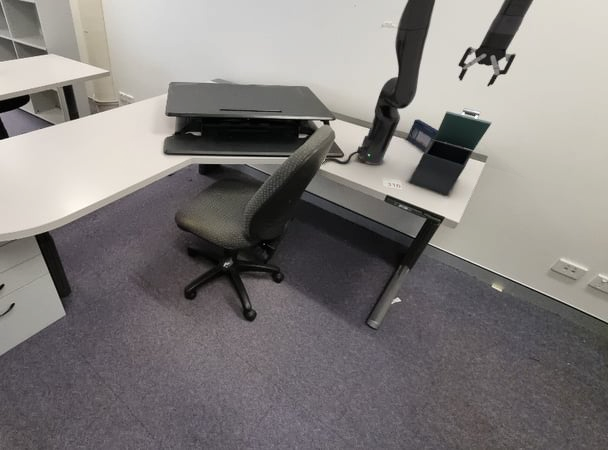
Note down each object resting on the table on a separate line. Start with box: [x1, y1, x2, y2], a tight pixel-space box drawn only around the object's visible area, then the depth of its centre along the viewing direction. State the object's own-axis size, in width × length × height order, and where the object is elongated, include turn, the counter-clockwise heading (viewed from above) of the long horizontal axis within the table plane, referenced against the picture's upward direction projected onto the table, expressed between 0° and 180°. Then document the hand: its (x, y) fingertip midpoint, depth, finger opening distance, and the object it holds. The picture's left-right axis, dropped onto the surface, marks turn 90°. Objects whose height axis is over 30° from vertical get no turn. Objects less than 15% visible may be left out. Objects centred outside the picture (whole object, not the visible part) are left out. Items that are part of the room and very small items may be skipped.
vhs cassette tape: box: [406, 119, 446, 152], centre depth 148 cm, size 18×3×10 cm, turn 11°
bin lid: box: [434, 107, 492, 151], centre depth 119 cm, size 16×14×5 cm
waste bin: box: [408, 140, 474, 197], centre depth 126 cm, size 16×14×13 cm
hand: (474, 82), depth 116 cm, fingers open, 8 cm apart
